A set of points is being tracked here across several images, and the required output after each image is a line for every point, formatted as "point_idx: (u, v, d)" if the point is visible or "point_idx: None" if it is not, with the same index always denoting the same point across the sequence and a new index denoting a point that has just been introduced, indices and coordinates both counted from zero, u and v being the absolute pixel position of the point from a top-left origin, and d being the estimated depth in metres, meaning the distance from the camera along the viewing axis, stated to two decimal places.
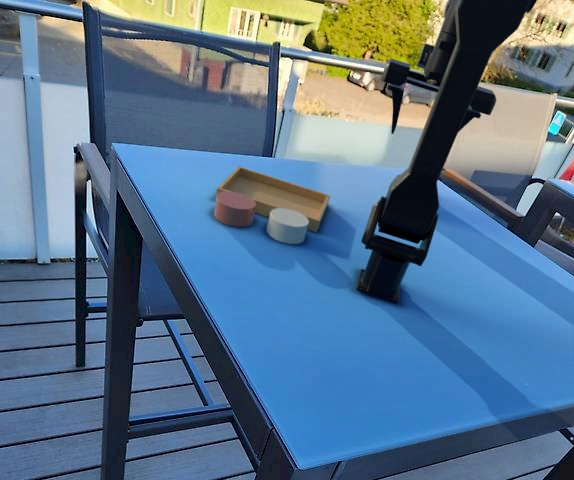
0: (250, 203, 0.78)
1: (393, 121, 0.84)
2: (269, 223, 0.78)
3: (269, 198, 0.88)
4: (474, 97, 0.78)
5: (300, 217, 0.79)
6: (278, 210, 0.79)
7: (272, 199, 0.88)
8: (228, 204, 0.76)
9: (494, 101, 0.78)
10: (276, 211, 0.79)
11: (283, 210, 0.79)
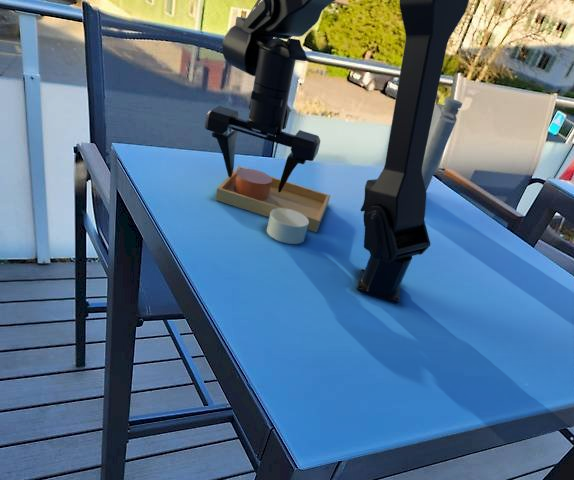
0: (267, 179, 0.86)
1: (226, 166, 0.85)
2: (269, 223, 0.78)
3: (269, 198, 0.88)
4: (293, 144, 0.79)
5: (300, 217, 0.79)
6: (278, 210, 0.79)
7: (272, 199, 0.88)
8: (247, 179, 0.84)
9: (313, 148, 0.79)
10: (276, 211, 0.79)
11: (283, 210, 0.79)
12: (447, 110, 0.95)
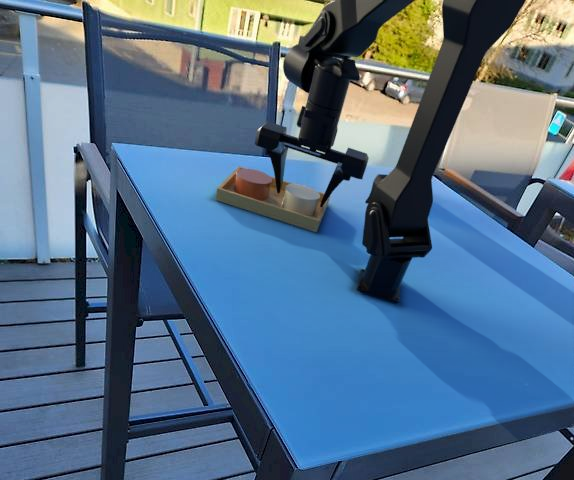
0: (267, 179, 0.86)
1: (276, 182, 0.85)
2: (284, 197, 0.86)
3: (269, 198, 0.88)
4: (344, 162, 0.79)
5: (312, 192, 0.87)
6: (292, 185, 0.87)
7: (272, 199, 0.88)
8: (247, 179, 0.84)
9: (364, 166, 0.79)
10: (290, 186, 0.86)
11: (296, 185, 0.87)
12: None
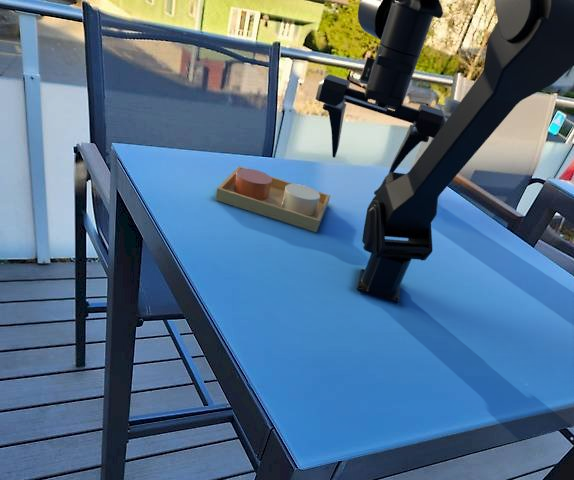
0: (267, 179, 0.86)
1: (333, 144, 0.75)
2: (284, 197, 0.86)
3: (269, 198, 0.88)
4: (419, 119, 0.69)
5: (312, 192, 0.87)
6: (292, 185, 0.87)
7: (272, 199, 0.88)
8: (247, 179, 0.84)
9: (442, 123, 0.69)
10: (290, 186, 0.86)
11: (296, 185, 0.87)
12: (447, 110, 0.95)
